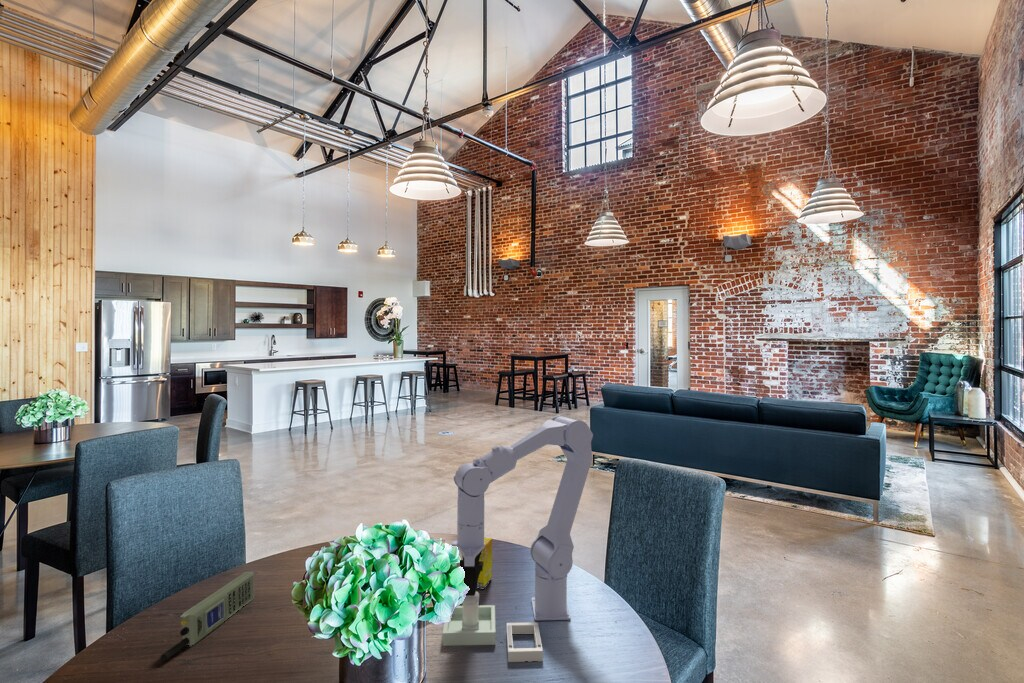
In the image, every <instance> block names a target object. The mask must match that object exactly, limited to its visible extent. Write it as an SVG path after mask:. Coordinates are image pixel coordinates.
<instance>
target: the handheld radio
mask: <svg viewBox="0 0 1024 683" xmlns="http://www.w3.org/2000/svg"><path fill="white" fill-rule="evenodd" d="M254 577H255V575H254V571H246V572H243V573H242V574H241V575H238V576H237V577H236V578H234V579H232V580H231V581H229V582H228V583H227V584H225V585H223V586H222V587H221V588H219V589H218V590H216V591H215V592H213V593H212V594H210V595H209V596H207V597H205V598H204V599H203V600H201V601H200V602H198V603H197V604H195V605H193V606H192V607H190V608H189V609H187V610H186V611H184V612H183V613H182V615H180V616H179V618H182V620H181V621H180V625H181V626H182V629H181V630H180V631H179V635H180V636H182V639H181V641H180V642H177V643H176V644H175V645H174V646H173V647H170V648H169V649H168V650H167V651H165V652H164V653H163V654H161V656H160V659H161V661H163V662H165V661H167V660H168V659H170V658H171V657H172V656H174V655H176V653H177V652H179V651H180V650H181V649H183V648H184V647H187V646H186V645H189V646H188V647H193V646H194V645H195V644H197V643H198V642H199V641H201V640H202V639H204V638H205V637H206V636H208V635H209V634H210V633H211V632H213V631H214V630H216V629H217V628H218V627H219V626H221V625H222V624H223V623H225V622H227V620H229V619H230V618H231V617H233V616H234V615H235V614H236V612H237V611H238V610H239V611H241V610H242V609H243V608H244V607H246V606H247V605H249V604H250V603H251V602H252V601H254V600H255V583H254V582H255V581H254V579H255V578H254ZM253 599H254V600H253ZM250 601H251V602H250ZM249 602H250V603H249ZM246 604H247V605H246ZM245 605H246V606H245ZM243 606H244V607H243ZM242 607H243V608H242ZM241 608H242V609H241ZM239 611H238V612H239ZM238 612H237V613H238ZM233 614H234V615H233ZM232 615H233V616H232ZM229 617H230V618H229ZM228 618H229V619H228ZM224 621H225V622H224ZM192 645H193V646H192Z"/></svg>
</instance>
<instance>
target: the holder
mask: <svg viewBox="0 0 1024 683" xmlns="http://www.w3.org/2000/svg"><path fill="white" fill-rule="evenodd" d="M539 627H540V626H539V623H538V622H532V621H531V622H528V621H527V622H506V643H507V646H506V647H507V662H508V663H526V662H525V661H528V662H532V661H538V662H543V661H544V660H543V659H544V656H543V655H544V653H543V652H544V650H543V644H542V638H541V634H540V628H539ZM512 634H534V635H533V642H534V641H535V642H534V646H535V647H517V648H515V647H514V642H513V641H514V639H513V635H512ZM528 662H527V663H528Z"/></svg>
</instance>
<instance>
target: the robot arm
mask: <svg viewBox="0 0 1024 683" xmlns="http://www.w3.org/2000/svg"><path fill="white" fill-rule="evenodd" d="M593 437H594V434H593V432H592V430H591V428H590V427H589V425H588V424H587V423H586V422H585V421H584V420H582V419H574V418H571V417H568V416H567V417H566V415H562V414H561V415H559V414H558V415H555V416H553V417H552V418H551V419H547V420H545V421H544V422H543V423H542V424H541V425H540V426H539V427H537V428H535V429H534V430H533V431H531V432H530V433H528V434H527V435H525V436H524V437H522V438H521V439H519V440H518V441H516V442H515V443H513V444H512V445H510V446H506V445H500V446H498V445H495V446H493V447H491V451H490V452H488V453H486V454H484V455H483V456H480V457H479V458H478V457H476V458H474V459H473V462H469V463H468V462H465V463H463V464H461V465H460V466H458V468H457V470H456V471H455V475H453V481H454V484H455V485H456V487H457V509H456V510H457V521H456V522H457V528H456V529H457V531H456V532H457V536H456V538H457V539H456V540H452V542H451V547H452V546H457V547H458V549H457V550H458V552H459V553H460V554H461V557H462V559H459V560H460V566H461V567H463V569H464V571H465V578H464V583H465V584H466V585H467V586H469V588H470V590H469V591H468V593H467V594H466V596H474V595H475V593H476V591H477V589H476V588H477V582H478V577H479V574H480V572H481V570H482V568H483V565H484V561H479V559H480V555H481V552H482V550H483V548H484V547H485V541H484V538H485V493H486V491H488V488H489V486H490V484H491V483H493V482H495V481H496V480H498V479H499V478H501V477H503V476H504V475H506V474H508V473H509V472H511V471H513V470H514V469H515V468H516V466H517V462H518V461H519V460H520V459H522V458H525V457H527V456H528V455H530V454H532V453H534V452H536V451H538V450H540V449H542V448H543V447H546V446H548V445H549V446H550V445H551V446H558V447H559V448H560V449H561V450H562V453H563V454H564V456H565V458H566V463H565V464H564V468H563V472H562V475H561V480H560V482H559V485H558V488H557V492H556V496H555V499H554V502H553V505H552V509H551V511H550V515H549V518H548V522H547V524H546V525H545V526H543V527H542V528H541V529H540V530H539V531H538V535H537V537H536V538H535V539H534V540H533V541H532V544H531V546H530V549H529V550H530V551H529V552H530V553H529V554H530V557H531V559H532V560H533V562H534V597H531V606H532V612H533V619H534V621H569V620H571V619H572V617H571V613H570V611H569V610H570V609H569V608H568V603H567V594H568V593H567V590H568V587H567V586H568V582H567V581H568V574H569V573H570V571H571V570H572V568H573V562H574V561H573V552H574V543H573V540H572V539H573V538H572V536H571V531H572V528H573V526H574V521H575V517H576V514H577V511H578V508H579V505H580V501H581V498H582V495H583V492H584V488H585V485H586V481H587V478H588V474H589V472H590V468H591V464H592V460H593V452H592V451H593V450H592V440H593Z"/></svg>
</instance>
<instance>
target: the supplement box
mask: <svg viewBox="0 0 1024 683" xmlns="http://www.w3.org/2000/svg"><path fill="white" fill-rule="evenodd" d="M484 541H485V547H484V548H483V550H482V552H481V555H480V559H479V561H484V565H483V568H482V570H481V572H480V574H479V577H478V582H477V587H479V588H485V586H486V585H487V584H488V582H489V581H490V579H491V578H492V575H493V573H492V572H493V571H492V570H493V566H492V565H493V538H492V537H484ZM490 582H491V581H490ZM488 585H489V584H488ZM488 585H487V586H488ZM485 589H486V588H485Z"/></svg>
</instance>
